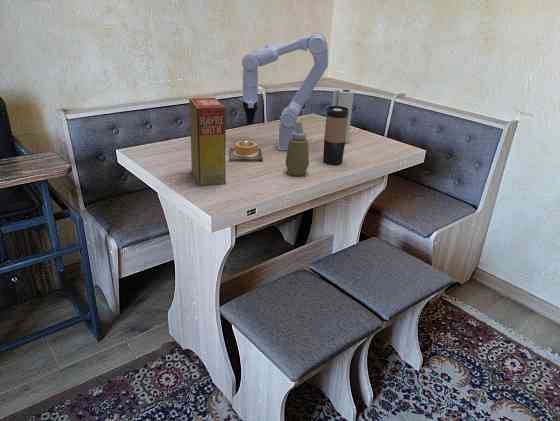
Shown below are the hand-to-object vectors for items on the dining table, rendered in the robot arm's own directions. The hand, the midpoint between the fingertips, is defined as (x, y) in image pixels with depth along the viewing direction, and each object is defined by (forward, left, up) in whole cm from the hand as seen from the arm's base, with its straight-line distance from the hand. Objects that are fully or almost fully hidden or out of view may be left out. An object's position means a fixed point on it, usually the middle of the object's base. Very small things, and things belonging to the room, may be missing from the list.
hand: (249, 121), depth 179 cm
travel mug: (-30, +19, -10) cm, 37 cm away
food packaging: (+15, +34, -10) cm, 38 cm away
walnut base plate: (+2, +13, -9) cm, 16 cm away
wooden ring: (+2, +12, -8) cm, 15 cm away
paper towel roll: (-38, -5, -10) cm, 40 cm away
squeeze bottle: (-15, +30, -10) cm, 35 cm away
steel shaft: (+2, +13, -9) cm, 16 cm away
